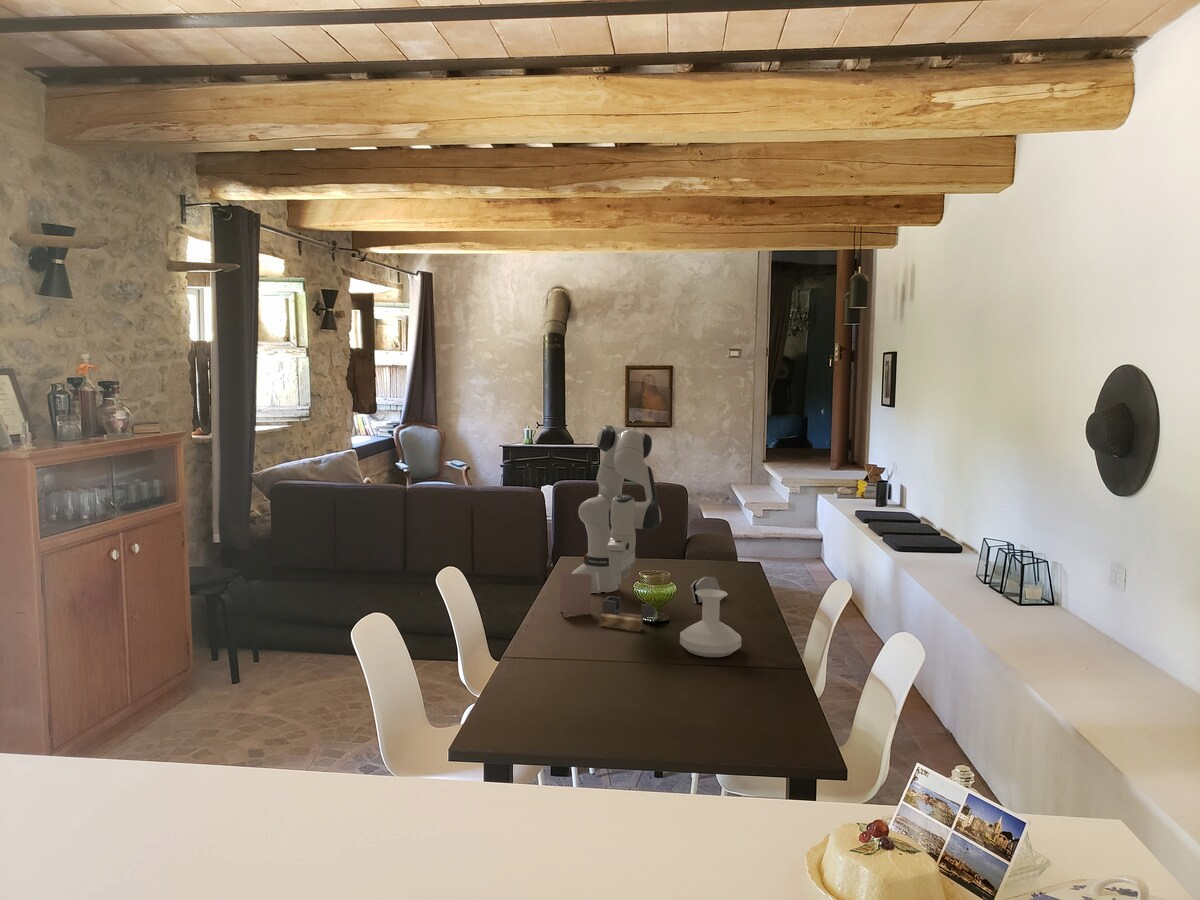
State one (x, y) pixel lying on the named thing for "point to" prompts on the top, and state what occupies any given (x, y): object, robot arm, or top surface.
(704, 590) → the candle holder
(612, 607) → the end cap frame
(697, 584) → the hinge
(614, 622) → the oak slat
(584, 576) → the greeting card
